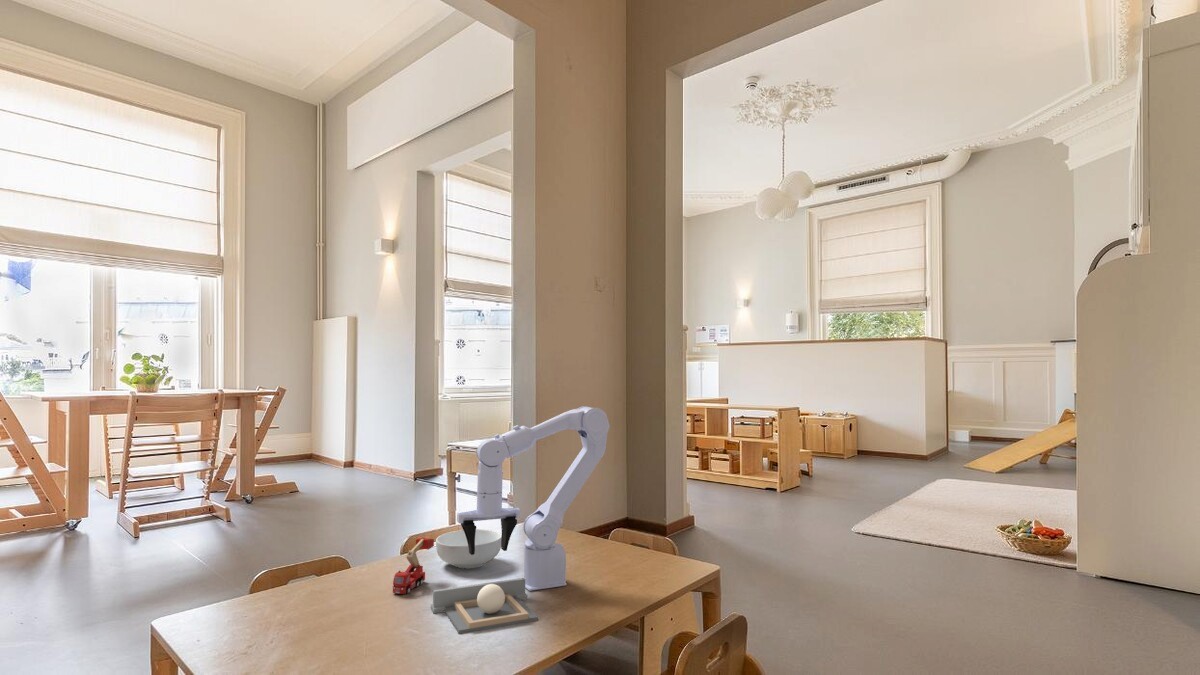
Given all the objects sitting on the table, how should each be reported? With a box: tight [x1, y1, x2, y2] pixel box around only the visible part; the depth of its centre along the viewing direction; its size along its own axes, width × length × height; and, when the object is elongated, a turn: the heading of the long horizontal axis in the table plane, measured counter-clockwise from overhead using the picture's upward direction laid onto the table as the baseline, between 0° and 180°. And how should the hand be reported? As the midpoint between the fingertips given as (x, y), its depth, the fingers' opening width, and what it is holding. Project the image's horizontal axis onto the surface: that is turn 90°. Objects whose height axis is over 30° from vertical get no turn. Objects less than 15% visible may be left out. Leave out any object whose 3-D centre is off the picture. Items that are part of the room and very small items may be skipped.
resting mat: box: [443, 594, 539, 635], centre depth 127 cm, size 16×12×2 cm
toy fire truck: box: [392, 537, 435, 595], centre depth 144 cm, size 3×14×10 cm, turn 168°
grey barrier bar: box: [430, 577, 529, 614], centre depth 133 cm, size 20×3×4 cm, turn 117°
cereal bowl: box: [435, 528, 502, 569], centre depth 161 cm, size 17×17×7 cm
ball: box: [477, 584, 505, 614], centre depth 127 cm, size 6×6×6 cm
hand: (488, 551), depth 143 cm, fingers open, 7 cm apart
